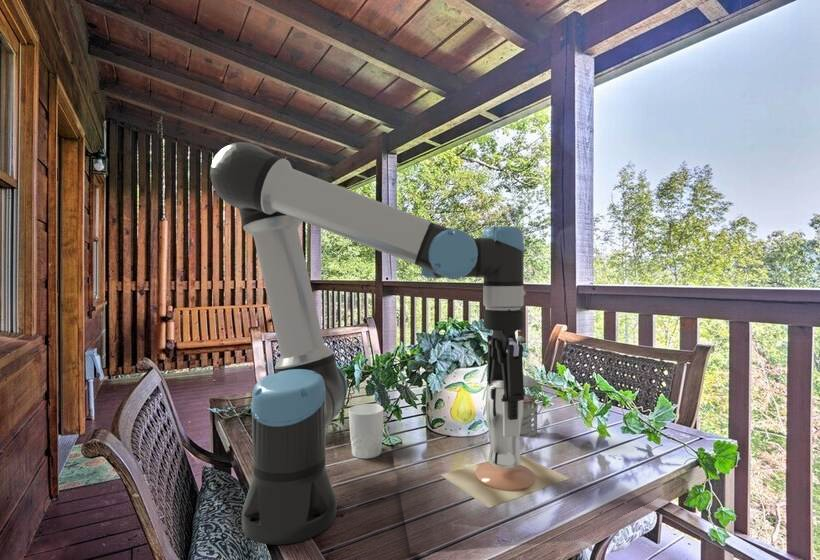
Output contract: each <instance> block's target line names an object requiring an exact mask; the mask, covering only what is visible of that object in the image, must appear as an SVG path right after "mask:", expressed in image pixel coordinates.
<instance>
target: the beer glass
mask: <svg viewBox="0 0 820 560" xmlns="http://www.w3.org/2000/svg"><path fill="white" fill-rule="evenodd" d="M514 394H515V393H514ZM485 395H486V396H485V413H486V420H487V425H488V431H489V438H490V448H489V453H488V460H487V461H489V463H490V464H491V465H493V466H495V467H498V468H503V469H512V468H516V467H518V466H520V464H521V459H520V455H521V454H520V447H519V446H520V445H519V444H520V436H521V435H520V431H521V425H522V418H523V400H520V401H519V436H510V437H504V436H503V402H502V400H501V399H502V398H505V393H504V384H503V380H493V381H489V382H487V383H486V394H485Z"/></svg>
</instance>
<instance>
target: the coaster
mask: <svg viewBox="0 0 820 560" xmlns="http://www.w3.org/2000/svg"><path fill="white" fill-rule="evenodd" d="M476 478H477V480H478V481H479V482H481V483H482V484H484V485H486V486H488V487H490V488H494V489H498V490H505V491H517V490H523V489H526V488H528V487H530V486H532V485H533V483H534V474H533V472H532V471H531V470H530V469H528V468H527V467H525V466H522V465H520V466H518V467H516V468H512V469H503V468H498V467H495V466H493V465H491V464H490V463H489V462H487V463H484V464H481V465H480V466H478V467H477V469H476Z"/></svg>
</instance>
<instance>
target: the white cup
mask: <svg viewBox="0 0 820 560" xmlns="http://www.w3.org/2000/svg"><path fill="white" fill-rule="evenodd" d="M348 422H349V437H350V444H351V445H350V446H351V455H352V456H353V457H355V458H358V459H362V460H363V459H365V460H366V459H367V460H368V459H374V458H376V457H379V456H380V455H381V454H382V452H383V451H382V447H383V445H382V444H383V443H382V441H383V435H384V433H383V432H384V407H383V406H382V405H379V404H376V403H375V404H374V403H363V404H357V405H352V406H350V407H349V409H348Z"/></svg>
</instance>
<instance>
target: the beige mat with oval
mask: <svg viewBox="0 0 820 560" xmlns="http://www.w3.org/2000/svg"><path fill="white" fill-rule="evenodd" d="M520 459H521V464H520V465H522V466H525V467H527V468H528V469H530V470H531V471H532V472H533V474H534V483H533V485H532V486H530V487H528V488H526V489H523V490H517V491H505V490H498V489H494V488H490V487H488V486H486V485H484V484H482V483H481V482H479V481H478V480H477V478H476V469H477V467H478V466H480V465H481V464H484V463H487V462H489V460H487V461H484V462H480V463H477V464H474V465H470V466H466V467H464V468H463V467H462V468H460V469H456V470H453V471H450V472H446V473H443V474H442V473H441V474H440V476H441V477H442V478H444V479H446V480H447V481H448V482H450V483H452V484H453V485H454V486H455V487H458V488H459V489H460V490H462V491H463V492H465V493H466V494H468V495H469V496H470V497H472V498H473V499H475V500H476V501H478V502H479V503H481V504H482V505H484V506H485V507H486V508H488V509H491V508H493V507H496V506H499V505H501V504H503V503H507V502H510V501H512V500H515V499H518V498H521V497H523V496H526V495H529V494H532V493H535V492H537V491H539V490H542V489H545V488H548V487H551V486H553V485H556V484H560V483H561V482H564V481H567V480H570V479H571V478H570V477H568V476H566V475H564V474H562V473H560V472H557V471H555V470H553V469H551V468H550V467H547V466H545V465H543V464H541V463H539V462H537V461H535V460H532V459H531V458H528V456H527V457H526V456H525V455H522V454H520Z"/></svg>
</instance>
